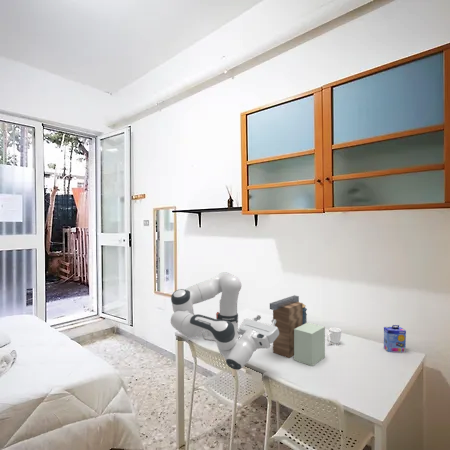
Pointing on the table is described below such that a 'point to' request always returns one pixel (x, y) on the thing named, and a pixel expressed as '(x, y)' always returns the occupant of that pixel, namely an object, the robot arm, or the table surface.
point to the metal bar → (284, 302)
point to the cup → (334, 335)
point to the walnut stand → (287, 328)
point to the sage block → (309, 343)
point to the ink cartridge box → (394, 339)
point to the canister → (304, 314)
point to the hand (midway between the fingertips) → (267, 318)
